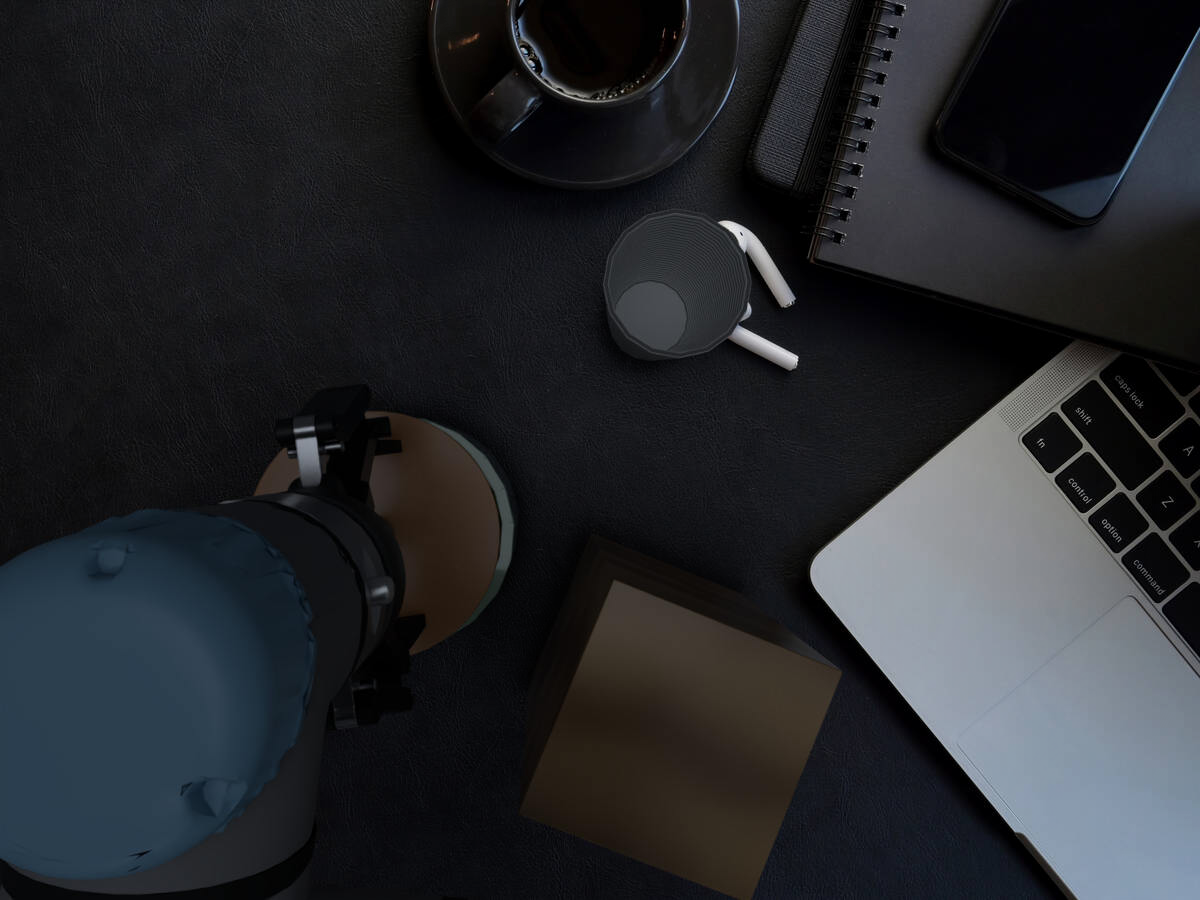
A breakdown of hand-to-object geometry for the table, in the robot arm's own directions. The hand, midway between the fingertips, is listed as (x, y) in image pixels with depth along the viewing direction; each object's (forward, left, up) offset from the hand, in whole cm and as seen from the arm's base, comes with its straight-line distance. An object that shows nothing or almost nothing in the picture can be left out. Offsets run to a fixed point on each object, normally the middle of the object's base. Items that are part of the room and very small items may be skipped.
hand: (391, 536), depth 57 cm
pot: (0, 0, -11) cm, 11 cm away
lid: (-1, +1, -2) cm, 2 cm away
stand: (-2, -18, -11) cm, 21 cm away
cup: (+20, -10, -11) cm, 25 cm away
